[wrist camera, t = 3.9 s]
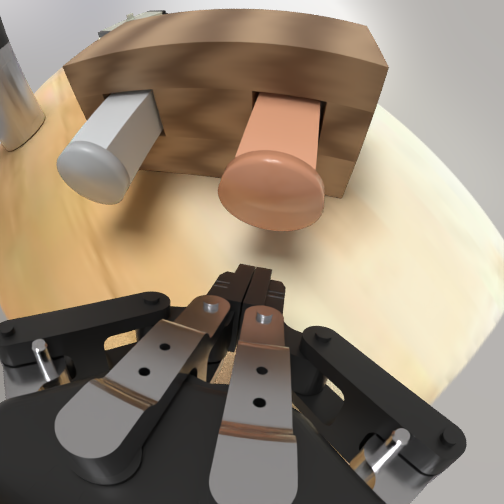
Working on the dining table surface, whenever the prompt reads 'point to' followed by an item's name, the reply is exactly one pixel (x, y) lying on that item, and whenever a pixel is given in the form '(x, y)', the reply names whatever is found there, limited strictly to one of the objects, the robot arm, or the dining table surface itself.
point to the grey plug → (111, 146)
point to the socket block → (237, 82)
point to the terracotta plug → (276, 166)
